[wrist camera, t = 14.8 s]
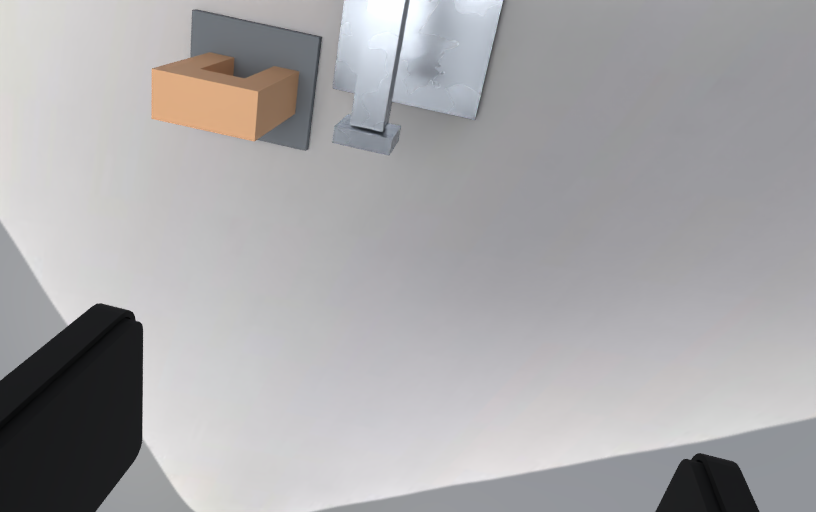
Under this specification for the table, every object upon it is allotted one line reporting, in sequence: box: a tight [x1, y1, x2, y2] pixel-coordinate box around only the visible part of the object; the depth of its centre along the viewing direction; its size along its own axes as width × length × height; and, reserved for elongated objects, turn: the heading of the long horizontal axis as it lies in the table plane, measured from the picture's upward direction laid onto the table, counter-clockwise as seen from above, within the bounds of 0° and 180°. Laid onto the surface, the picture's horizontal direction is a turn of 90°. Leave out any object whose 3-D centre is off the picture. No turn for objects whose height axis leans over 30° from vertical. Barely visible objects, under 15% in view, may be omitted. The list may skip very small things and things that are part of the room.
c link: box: [152, 52, 299, 141], centre depth 41 cm, size 6×3×8 cm, turn 80°
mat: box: [191, 10, 322, 151], centre depth 45 cm, size 9×8×1 cm
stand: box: [332, 0, 503, 155], centre depth 35 cm, size 10×12×15 cm
